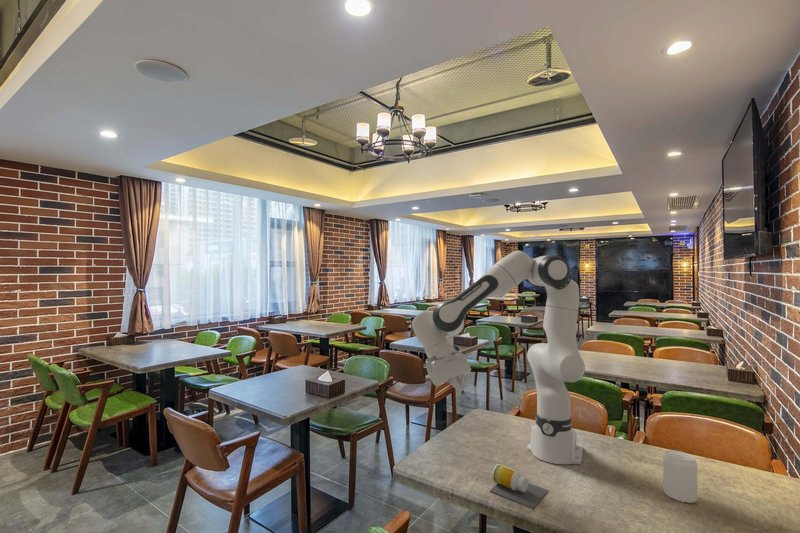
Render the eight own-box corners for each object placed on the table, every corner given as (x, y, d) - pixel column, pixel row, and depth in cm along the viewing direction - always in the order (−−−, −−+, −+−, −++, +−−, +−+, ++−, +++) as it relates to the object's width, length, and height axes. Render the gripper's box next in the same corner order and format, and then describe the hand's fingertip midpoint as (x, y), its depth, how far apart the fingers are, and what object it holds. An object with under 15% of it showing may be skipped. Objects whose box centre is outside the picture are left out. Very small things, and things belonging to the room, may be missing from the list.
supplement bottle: (501, 463, 122) (530, 474, 115) (499, 481, 120) (528, 494, 114) (493, 463, 118) (522, 475, 111) (490, 482, 117) (519, 495, 110)
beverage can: (698, 508, 108) (698, 464, 108) (663, 498, 112) (663, 457, 113) (695, 494, 115) (695, 453, 115) (662, 486, 119) (662, 447, 119)
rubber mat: (506, 476, 123) (506, 475, 123) (548, 491, 115) (548, 490, 115) (489, 491, 114) (489, 490, 114) (533, 509, 106) (533, 508, 106)
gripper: (429, 354, 125) (452, 394, 119) (461, 345, 141) (482, 379, 135) (417, 364, 128) (438, 403, 123) (449, 354, 144) (469, 387, 139)
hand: (462, 390), depth 129 cm, fingers closed
